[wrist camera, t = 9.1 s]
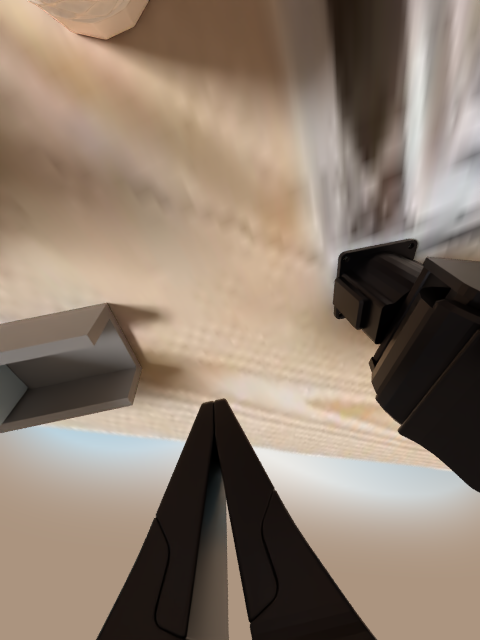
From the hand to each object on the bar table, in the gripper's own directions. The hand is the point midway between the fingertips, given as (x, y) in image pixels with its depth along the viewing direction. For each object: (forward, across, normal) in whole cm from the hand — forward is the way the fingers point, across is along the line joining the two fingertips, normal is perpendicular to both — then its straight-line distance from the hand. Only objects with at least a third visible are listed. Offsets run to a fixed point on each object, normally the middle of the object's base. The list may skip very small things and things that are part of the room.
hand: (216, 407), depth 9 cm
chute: (+13, +16, +5) cm, 21 cm away
